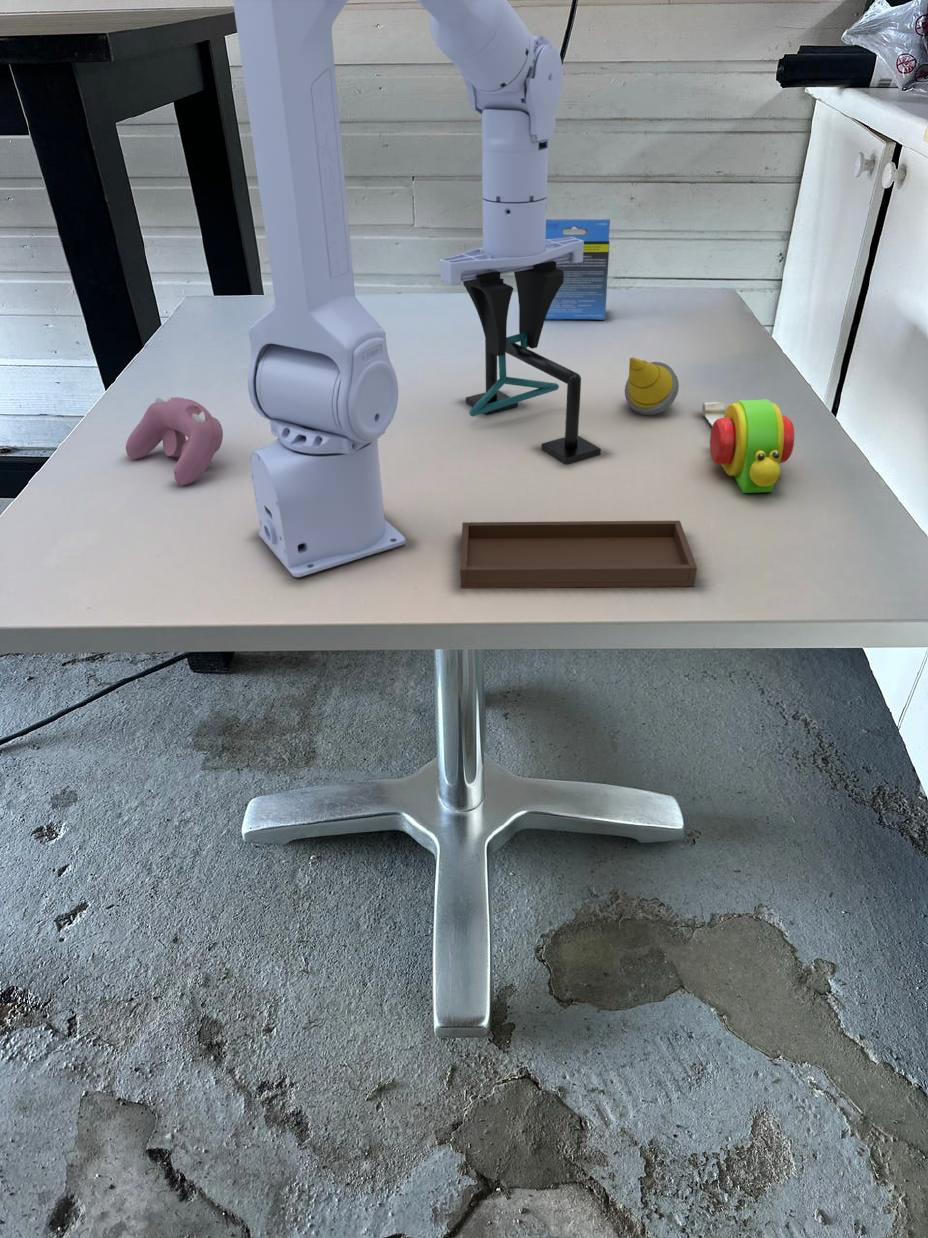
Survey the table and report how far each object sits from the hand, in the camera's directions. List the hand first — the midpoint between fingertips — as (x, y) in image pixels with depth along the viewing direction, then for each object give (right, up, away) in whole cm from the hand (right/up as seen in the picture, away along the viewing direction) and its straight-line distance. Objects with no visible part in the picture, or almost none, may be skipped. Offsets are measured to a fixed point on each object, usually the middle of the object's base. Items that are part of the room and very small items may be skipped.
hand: (513, 348), depth 87 cm
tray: (+4, -22, -19) cm, 29 cm away
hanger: (0, -4, +3) cm, 6 cm away
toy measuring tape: (+20, -11, -4) cm, 24 cm away
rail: (+2, -7, +2) cm, 8 cm away
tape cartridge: (+9, +14, +31) cm, 35 cm away
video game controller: (-31, -12, -3) cm, 34 cm away
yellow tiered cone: (+14, -6, +4) cm, 16 cm away
